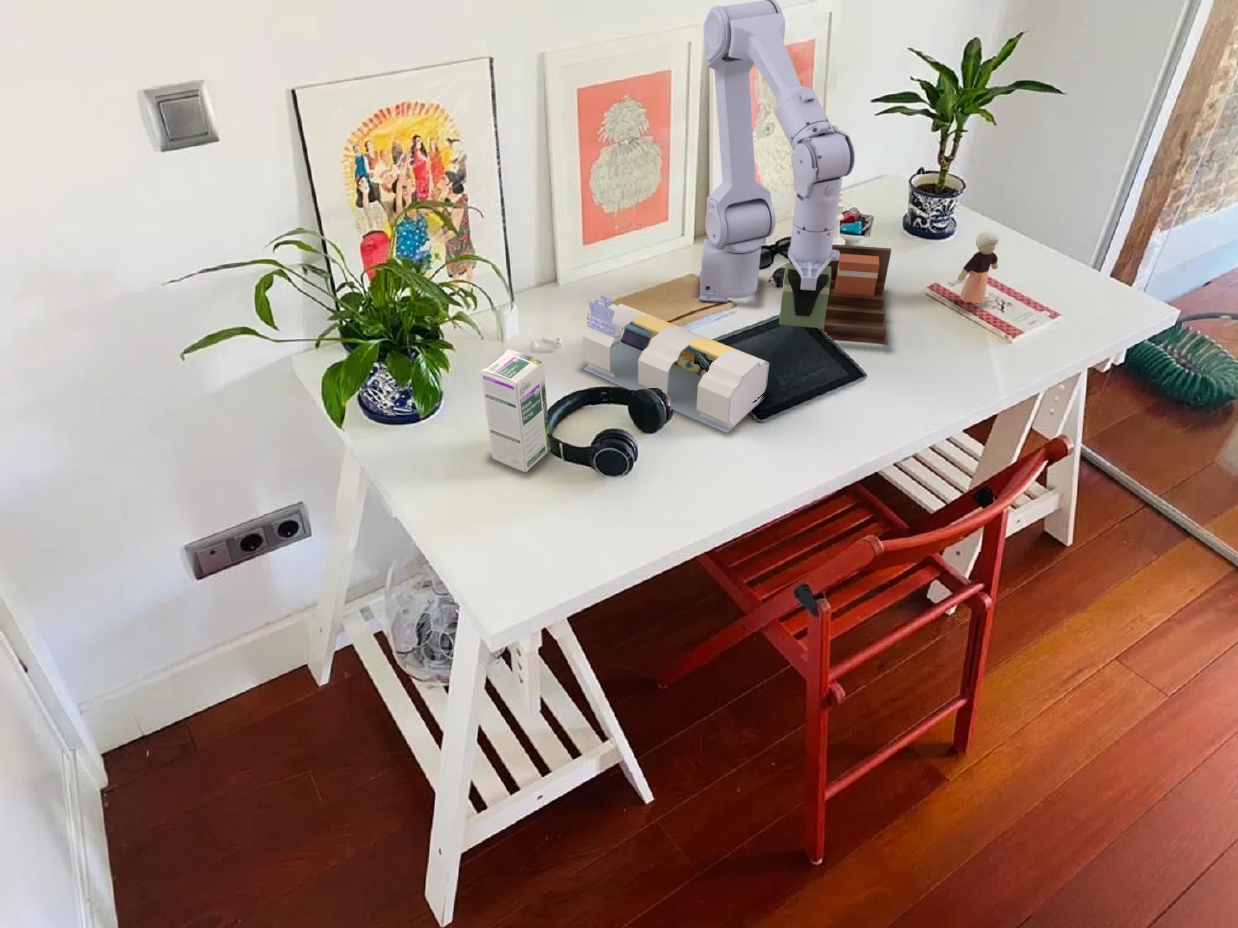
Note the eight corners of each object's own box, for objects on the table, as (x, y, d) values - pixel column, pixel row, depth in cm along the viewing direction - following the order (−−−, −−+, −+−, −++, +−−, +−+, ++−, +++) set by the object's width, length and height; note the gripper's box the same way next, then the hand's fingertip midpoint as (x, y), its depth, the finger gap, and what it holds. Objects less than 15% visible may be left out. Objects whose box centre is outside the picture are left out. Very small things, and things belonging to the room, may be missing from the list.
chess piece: (818, 251, 174) (826, 198, 167) (819, 238, 177) (826, 185, 171) (847, 254, 173) (856, 200, 166) (847, 240, 177) (855, 187, 170)
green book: (778, 325, 145) (784, 273, 140) (779, 313, 147) (785, 262, 142) (823, 328, 144) (831, 277, 139) (823, 317, 147) (831, 266, 141)
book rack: (819, 344, 152) (826, 299, 147) (821, 287, 165) (827, 243, 159) (886, 350, 151) (896, 304, 145) (882, 292, 163) (891, 248, 158)
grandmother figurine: (966, 316, 157) (985, 244, 149) (947, 306, 160) (964, 235, 151) (996, 300, 161) (1016, 229, 153) (976, 291, 163) (994, 220, 155)
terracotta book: (833, 300, 160) (839, 261, 155) (833, 292, 161) (839, 253, 157) (872, 303, 159) (879, 264, 154) (871, 295, 161) (878, 256, 156)
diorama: (583, 370, 147) (580, 293, 139) (625, 339, 153) (625, 263, 145) (726, 433, 136) (732, 354, 127) (765, 397, 142) (774, 319, 133)
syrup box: (526, 474, 129) (518, 383, 120) (490, 459, 132) (479, 369, 122) (551, 450, 133) (545, 360, 124) (515, 435, 135) (507, 346, 126)
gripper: (844, 250, 130) (830, 338, 138) (843, 200, 140) (830, 285, 149) (789, 246, 130) (779, 333, 139) (793, 197, 141) (783, 281, 150)
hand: (802, 308), depth 144 cm, fingers closed on green book, 3 cm apart
